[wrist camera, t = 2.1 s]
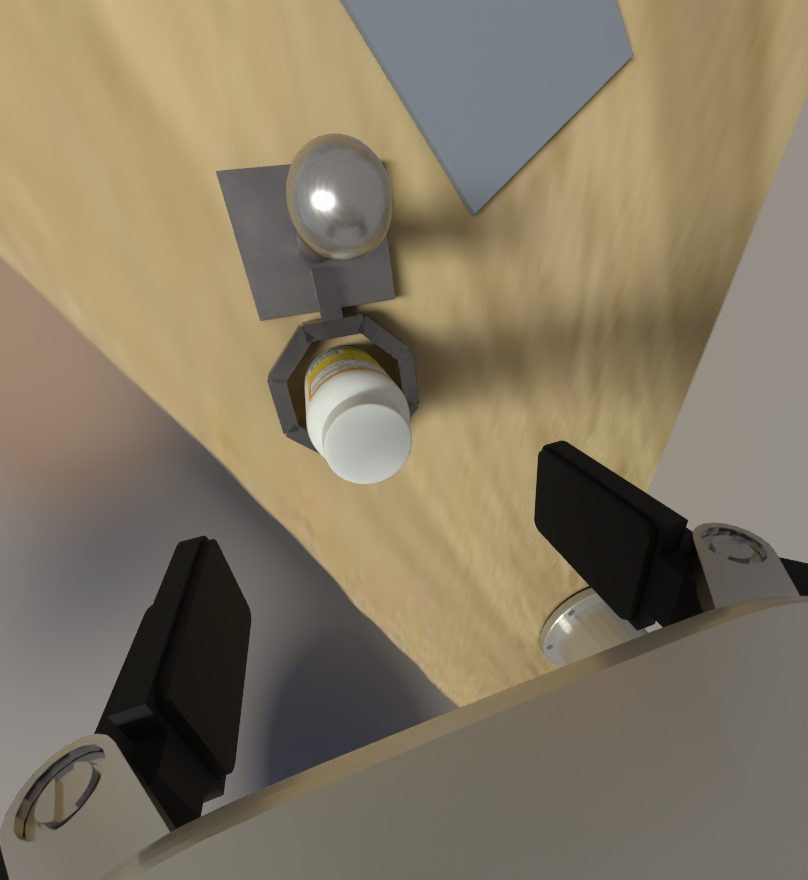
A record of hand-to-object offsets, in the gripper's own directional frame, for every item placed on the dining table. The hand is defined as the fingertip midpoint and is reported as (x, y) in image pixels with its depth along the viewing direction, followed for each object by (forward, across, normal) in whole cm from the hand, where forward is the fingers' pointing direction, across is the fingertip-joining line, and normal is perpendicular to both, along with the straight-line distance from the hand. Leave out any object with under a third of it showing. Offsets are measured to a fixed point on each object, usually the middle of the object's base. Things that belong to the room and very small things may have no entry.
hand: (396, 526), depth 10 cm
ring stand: (+16, 0, -3) cm, 16 cm away
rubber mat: (+16, -12, -17) cm, 26 cm away
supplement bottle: (+16, 0, +1) cm, 16 cm away
